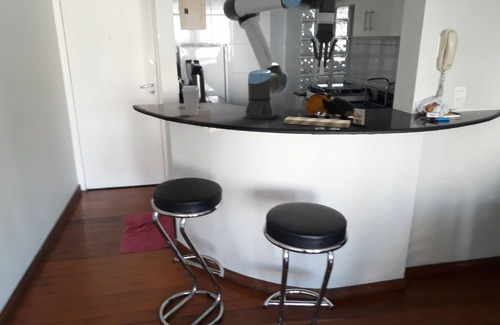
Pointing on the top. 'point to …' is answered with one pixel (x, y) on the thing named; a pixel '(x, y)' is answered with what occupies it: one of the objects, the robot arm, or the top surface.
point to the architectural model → (358, 116)
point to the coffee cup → (191, 99)
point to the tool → (327, 105)
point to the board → (317, 122)
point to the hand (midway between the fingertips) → (321, 74)
